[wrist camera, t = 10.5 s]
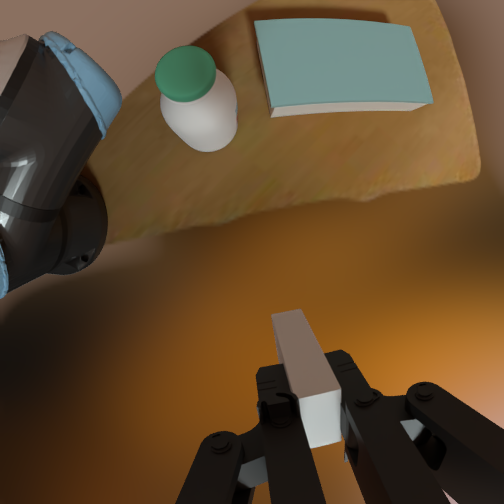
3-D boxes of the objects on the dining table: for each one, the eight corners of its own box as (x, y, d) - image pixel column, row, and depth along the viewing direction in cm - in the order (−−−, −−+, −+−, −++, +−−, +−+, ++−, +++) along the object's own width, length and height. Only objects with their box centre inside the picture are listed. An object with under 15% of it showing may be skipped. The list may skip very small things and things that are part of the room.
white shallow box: (270, 117, 39) (274, 108, 34) (256, 43, 37) (258, 26, 32) (410, 111, 39) (427, 104, 34) (392, 43, 37) (406, 31, 32)
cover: (270, 107, 34) (271, 106, 33) (253, 24, 32) (254, 21, 31) (430, 103, 34) (433, 102, 33) (407, 28, 32) (409, 26, 31)
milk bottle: (237, 152, 40) (236, 115, 20) (180, 153, 39) (130, 121, 20) (238, 98, 38) (237, 25, 19) (181, 100, 38) (139, 33, 18)
